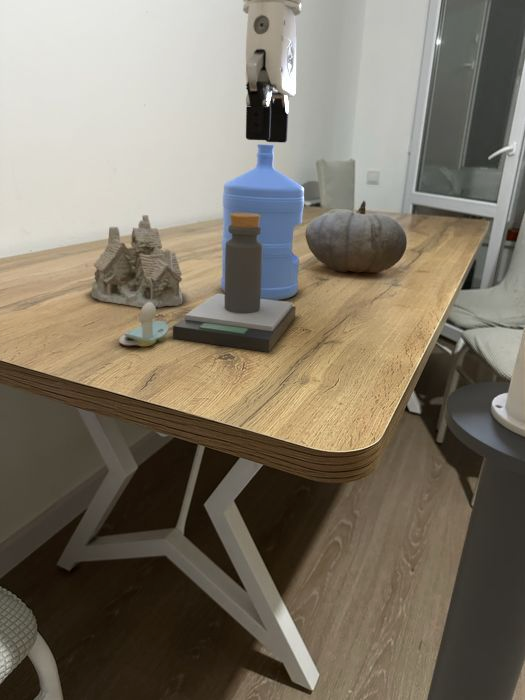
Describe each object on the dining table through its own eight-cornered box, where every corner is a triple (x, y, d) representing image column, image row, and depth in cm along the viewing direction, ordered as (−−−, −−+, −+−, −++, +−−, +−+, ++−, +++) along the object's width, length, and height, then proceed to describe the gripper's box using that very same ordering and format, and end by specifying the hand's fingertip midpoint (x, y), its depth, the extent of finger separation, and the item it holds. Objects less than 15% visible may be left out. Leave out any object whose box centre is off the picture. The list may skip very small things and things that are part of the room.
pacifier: (109, 346, 74) (144, 353, 72) (105, 304, 72) (141, 309, 70) (141, 332, 80) (173, 337, 78) (138, 292, 78) (171, 297, 76)
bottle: (218, 310, 83) (219, 214, 78) (233, 301, 88) (235, 211, 83) (251, 315, 81) (255, 218, 76) (265, 306, 86) (269, 214, 81)
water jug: (245, 306, 96) (251, 143, 86) (207, 286, 108) (208, 142, 98) (312, 297, 104) (325, 147, 94) (270, 279, 116) (277, 145, 106)
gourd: (317, 269, 115) (328, 189, 112) (288, 264, 139) (296, 198, 136) (418, 281, 121) (431, 205, 118) (374, 274, 145) (383, 211, 142)
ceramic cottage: (88, 287, 101) (86, 210, 95) (171, 286, 108) (174, 213, 102) (96, 316, 88) (94, 228, 82) (190, 313, 95) (194, 231, 89)
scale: (294, 317, 91) (296, 302, 90) (268, 352, 75) (269, 334, 74) (214, 307, 94) (214, 292, 93) (172, 338, 78) (172, 320, 77)
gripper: (285, -25, 58) (278, 139, 64) (313, 14, 74) (305, 143, 80) (222, -21, 60) (221, 138, 66) (262, 16, 76) (258, 142, 82)
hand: (267, 141), depth 73 cm, fingers open, 9 cm apart
